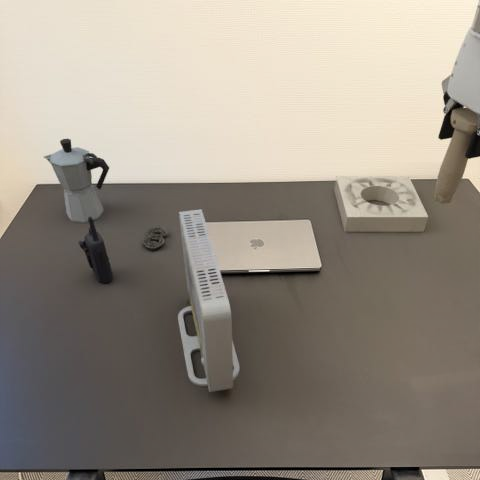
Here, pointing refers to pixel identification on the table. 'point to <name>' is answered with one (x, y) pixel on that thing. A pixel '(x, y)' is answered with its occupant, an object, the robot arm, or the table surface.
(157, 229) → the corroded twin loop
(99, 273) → the two-way radio
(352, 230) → the square block with hole
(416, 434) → the table surface
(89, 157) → the coffee maker
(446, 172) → the handle
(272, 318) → the table surface
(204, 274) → the network device
